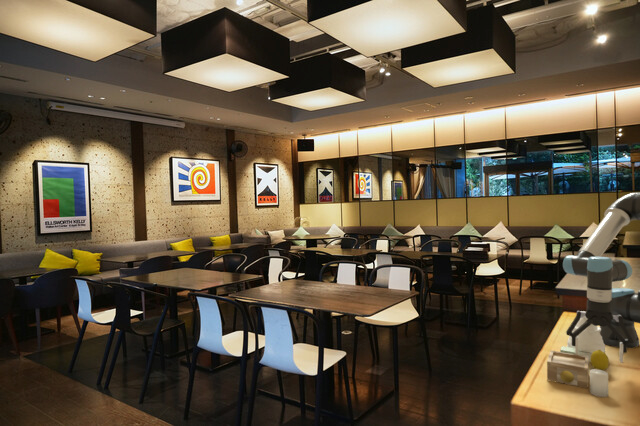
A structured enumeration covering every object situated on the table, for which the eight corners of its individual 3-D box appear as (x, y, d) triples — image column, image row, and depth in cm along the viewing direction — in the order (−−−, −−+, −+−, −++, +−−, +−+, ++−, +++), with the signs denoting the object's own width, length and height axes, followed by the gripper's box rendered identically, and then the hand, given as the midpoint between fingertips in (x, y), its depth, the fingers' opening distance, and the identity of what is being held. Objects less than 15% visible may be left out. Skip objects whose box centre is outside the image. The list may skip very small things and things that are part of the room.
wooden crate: (550, 368, 158) (550, 350, 158) (588, 375, 152) (588, 356, 152) (547, 381, 148) (547, 361, 148) (587, 389, 142) (587, 368, 141)
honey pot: (591, 364, 161) (591, 317, 160) (559, 353, 173) (560, 309, 172) (612, 358, 166) (613, 313, 165) (581, 348, 178) (581, 305, 177)
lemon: (603, 375, 151) (603, 353, 151) (587, 370, 156) (587, 348, 155) (611, 372, 153) (612, 350, 153) (596, 367, 158) (596, 346, 158)
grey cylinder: (601, 389, 141) (601, 369, 140) (611, 396, 136) (611, 375, 135) (586, 390, 140) (586, 369, 140) (596, 397, 135) (596, 375, 135)
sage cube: (562, 358, 168) (562, 345, 167) (576, 361, 165) (576, 348, 164) (560, 362, 164) (560, 349, 163) (575, 365, 161) (575, 352, 160)
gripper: (559, 298, 156) (558, 355, 157) (644, 306, 144) (643, 368, 144) (559, 294, 162) (558, 349, 163) (640, 301, 150) (639, 360, 151)
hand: (598, 358), depth 154 cm, fingers open, 13 cm apart
